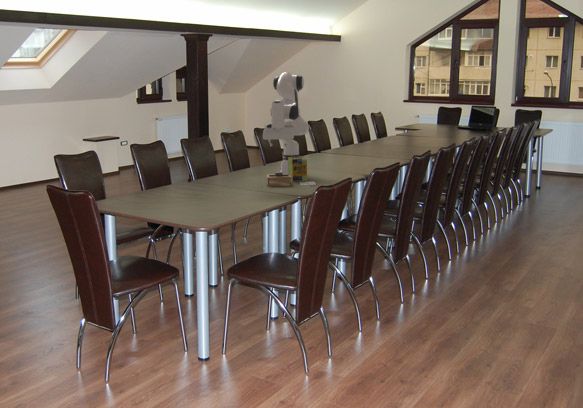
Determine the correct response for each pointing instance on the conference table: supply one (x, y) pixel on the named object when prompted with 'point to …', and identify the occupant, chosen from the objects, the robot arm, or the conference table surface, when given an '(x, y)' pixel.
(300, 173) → the protein box
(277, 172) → the capped block
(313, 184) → the felt pad
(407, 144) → the conference table surface
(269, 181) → the brown wooden open box
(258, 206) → the conference table surface
